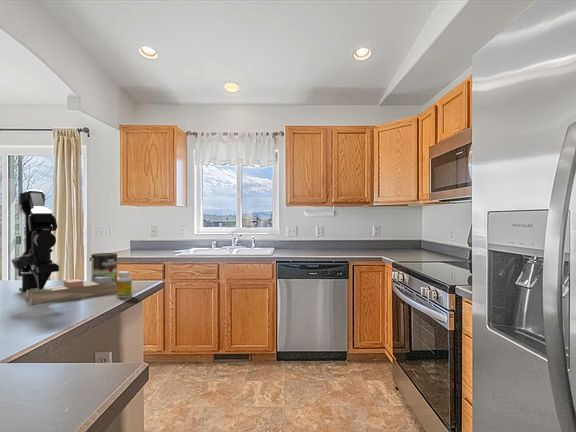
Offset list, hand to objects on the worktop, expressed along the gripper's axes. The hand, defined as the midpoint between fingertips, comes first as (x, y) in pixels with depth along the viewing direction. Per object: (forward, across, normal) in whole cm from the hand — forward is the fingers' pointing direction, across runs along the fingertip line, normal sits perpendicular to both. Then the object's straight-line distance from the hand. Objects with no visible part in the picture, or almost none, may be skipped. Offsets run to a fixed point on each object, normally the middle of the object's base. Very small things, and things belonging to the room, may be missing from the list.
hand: (40, 289), depth 132 cm
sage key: (+4, 0, 0) cm, 4 cm away
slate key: (+2, 0, +22) cm, 22 cm away
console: (+4, 0, +11) cm, 12 cm away
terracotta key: (+2, 0, +11) cm, 11 cm away
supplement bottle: (+5, +14, +24) cm, 28 cm away
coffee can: (+5, -11, +27) cm, 29 cm away
